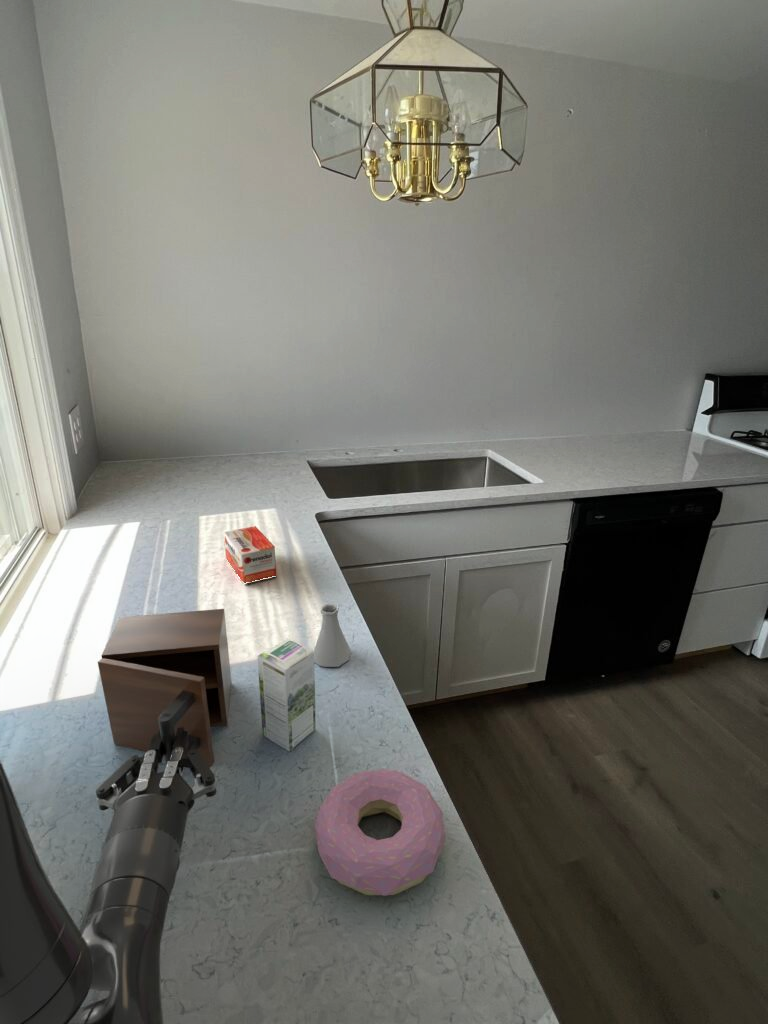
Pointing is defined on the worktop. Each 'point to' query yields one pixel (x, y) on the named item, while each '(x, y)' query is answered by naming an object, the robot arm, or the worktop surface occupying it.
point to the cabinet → (180, 650)
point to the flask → (331, 640)
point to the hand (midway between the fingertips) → (172, 733)
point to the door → (155, 707)
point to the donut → (383, 860)
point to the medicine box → (250, 554)
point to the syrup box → (287, 693)
